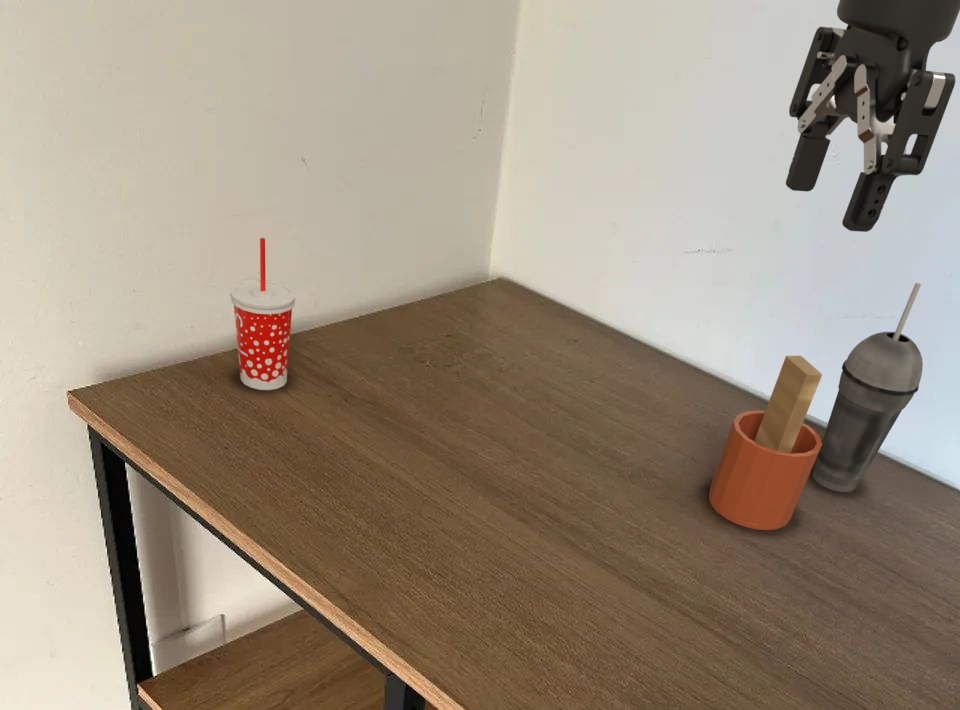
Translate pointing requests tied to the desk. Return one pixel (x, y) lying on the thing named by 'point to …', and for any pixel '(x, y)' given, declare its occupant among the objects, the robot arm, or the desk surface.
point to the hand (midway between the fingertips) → (825, 208)
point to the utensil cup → (761, 475)
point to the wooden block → (788, 404)
